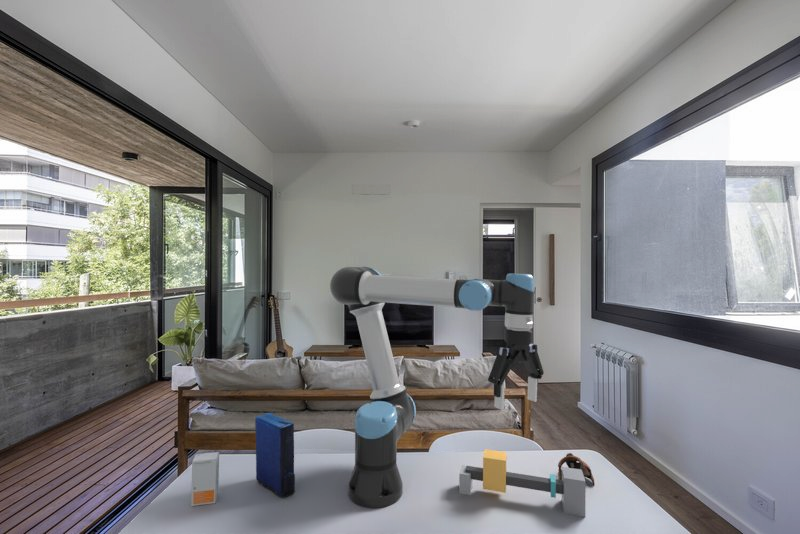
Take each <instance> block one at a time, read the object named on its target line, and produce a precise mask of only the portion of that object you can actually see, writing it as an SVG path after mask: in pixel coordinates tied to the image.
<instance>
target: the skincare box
mask: <svg viewBox="0 0 800 534" xmlns="http://www.w3.org/2000/svg"><path fill="white" fill-rule="evenodd" d="M191 468H192V469H191V493H190V494H191V497H190V498H191V500H190V502H191V503H190V505H191V507H195V506H202V505H212V504H216V502H217V500H218V497H219V483H220V481H219V478H220V475H219V474H220V451H214V452H205V453H197V454H195V455H194V457H193V459H192V461H191Z"/></svg>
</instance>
